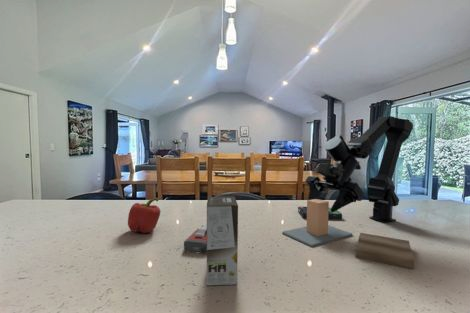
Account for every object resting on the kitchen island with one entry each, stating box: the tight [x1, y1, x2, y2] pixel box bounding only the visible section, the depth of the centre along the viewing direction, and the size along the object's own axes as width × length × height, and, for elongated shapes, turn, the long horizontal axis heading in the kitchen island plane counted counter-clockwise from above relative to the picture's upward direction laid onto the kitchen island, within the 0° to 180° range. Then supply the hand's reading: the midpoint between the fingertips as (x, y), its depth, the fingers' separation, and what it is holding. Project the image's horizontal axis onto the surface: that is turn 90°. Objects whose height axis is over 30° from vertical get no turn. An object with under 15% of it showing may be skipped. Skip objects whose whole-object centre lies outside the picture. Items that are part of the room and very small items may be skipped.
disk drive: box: [297, 206, 343, 221], centre depth 101 cm, size 10×3×15 cm
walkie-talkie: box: [183, 224, 207, 254], centre depth 74 cm, size 9×4×20 cm
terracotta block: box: [306, 198, 330, 236], centre depth 79 cm, size 4×4×10 cm
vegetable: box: [127, 197, 161, 234], centre depth 82 cm, size 11×10×10 cm
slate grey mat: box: [281, 224, 353, 248], centre depth 80 cm, size 18×12×1 cm, turn 121°
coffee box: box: [206, 196, 239, 286], centre depth 55 cm, size 9×6×16 cm
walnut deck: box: [355, 232, 415, 270], centre depth 67 cm, size 14×12×2 cm
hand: (319, 208), depth 80 cm, fingers open, 9 cm apart
